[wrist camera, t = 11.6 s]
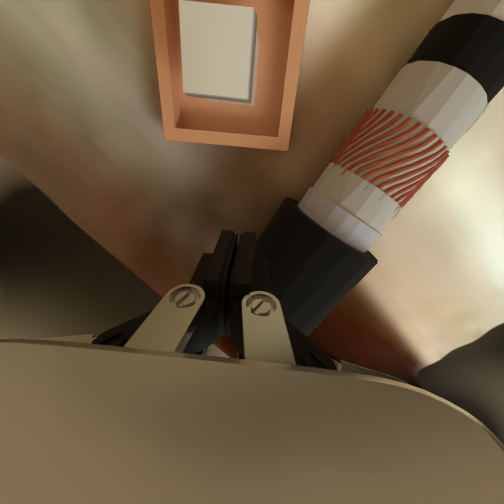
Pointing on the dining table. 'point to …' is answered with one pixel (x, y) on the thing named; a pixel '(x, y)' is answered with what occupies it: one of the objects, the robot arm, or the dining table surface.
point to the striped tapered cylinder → (384, 163)
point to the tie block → (219, 51)
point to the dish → (267, 84)
